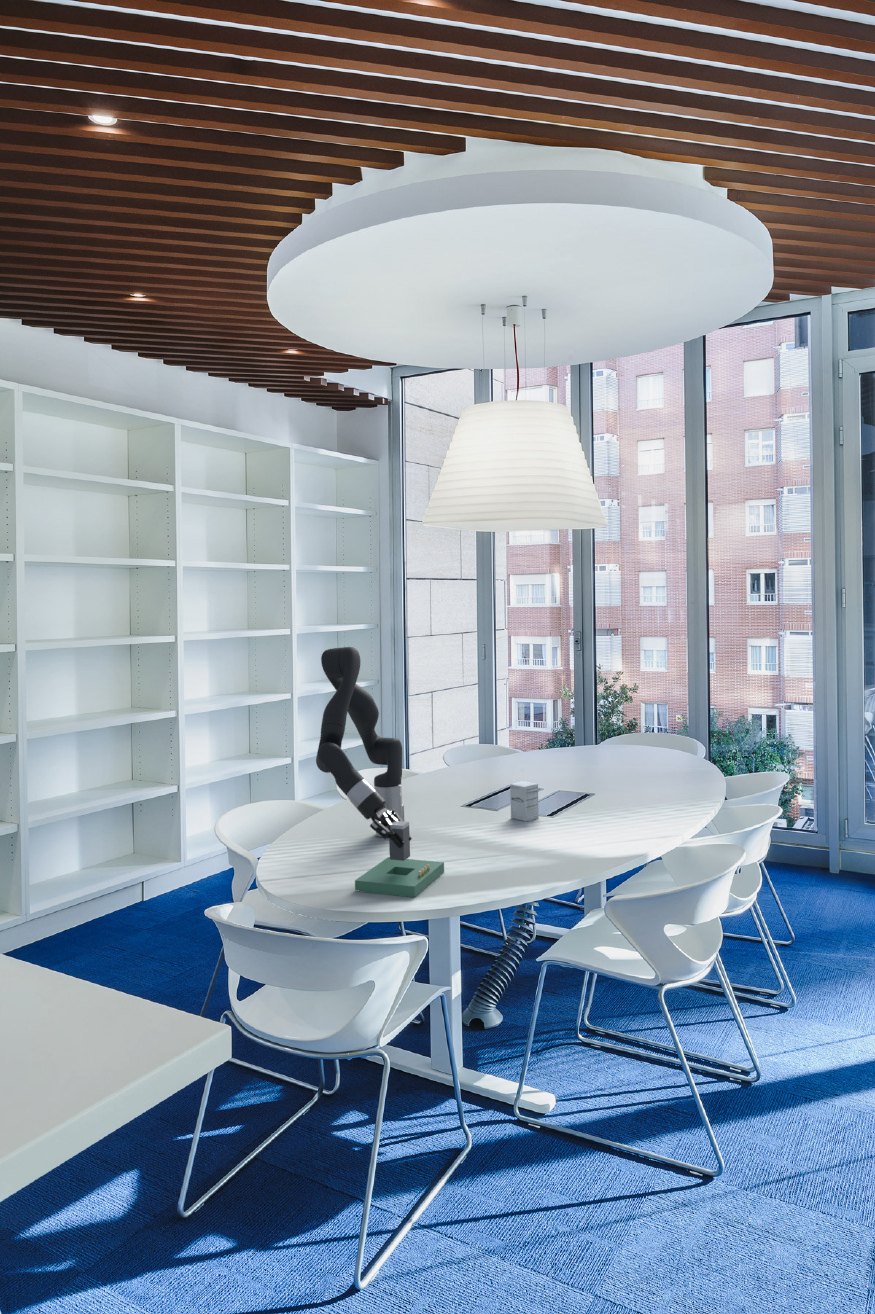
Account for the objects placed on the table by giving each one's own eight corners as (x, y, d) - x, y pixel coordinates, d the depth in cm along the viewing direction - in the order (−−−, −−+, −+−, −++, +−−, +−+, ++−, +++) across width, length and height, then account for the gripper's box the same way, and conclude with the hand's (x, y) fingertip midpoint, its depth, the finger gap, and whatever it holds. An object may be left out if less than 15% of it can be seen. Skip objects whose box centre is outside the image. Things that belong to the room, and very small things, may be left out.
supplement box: (510, 818, 315) (509, 783, 314) (524, 814, 320) (523, 780, 319) (525, 822, 309) (524, 786, 308) (539, 817, 314) (538, 783, 313)
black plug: (396, 854, 252) (395, 820, 251) (410, 856, 250) (409, 821, 250) (389, 859, 248) (388, 824, 247) (403, 860, 246) (402, 825, 246)
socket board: (388, 866, 263) (387, 852, 263) (444, 872, 257) (443, 857, 256) (355, 890, 243) (354, 875, 243) (414, 897, 236) (414, 880, 236)
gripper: (362, 795, 244) (404, 841, 240) (384, 785, 257) (423, 828, 254) (346, 813, 246) (387, 859, 243) (368, 801, 260) (407, 845, 256)
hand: (405, 843), depth 248 cm, fingers closed on black plug, 4 cm apart
